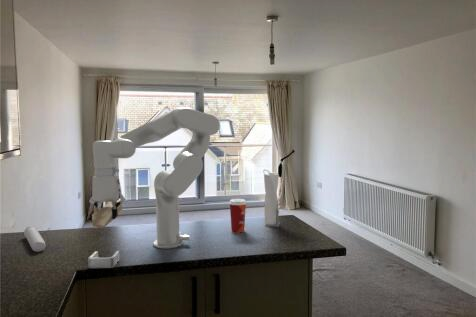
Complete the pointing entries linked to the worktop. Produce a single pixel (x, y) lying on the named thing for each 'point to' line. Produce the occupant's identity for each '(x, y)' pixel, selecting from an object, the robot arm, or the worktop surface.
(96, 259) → the cup bracket
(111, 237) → the worktop surface
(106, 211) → the maple rail
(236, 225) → the coffee cup
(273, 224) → the white bottle gift bag
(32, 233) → the tube
